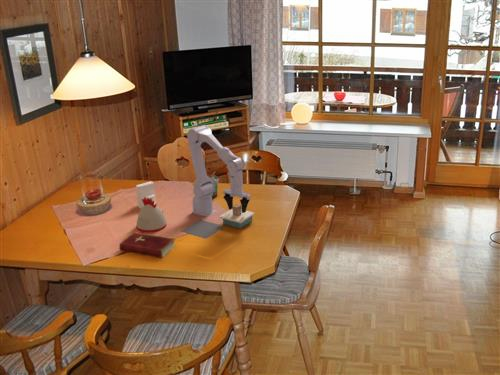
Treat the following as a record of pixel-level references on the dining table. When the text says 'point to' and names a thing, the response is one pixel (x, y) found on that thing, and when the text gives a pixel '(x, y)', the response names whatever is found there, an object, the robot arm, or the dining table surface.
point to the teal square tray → (237, 225)
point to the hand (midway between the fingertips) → (237, 210)
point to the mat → (203, 229)
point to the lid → (236, 214)
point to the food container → (215, 182)
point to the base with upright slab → (145, 193)
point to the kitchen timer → (150, 217)
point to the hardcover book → (147, 245)
